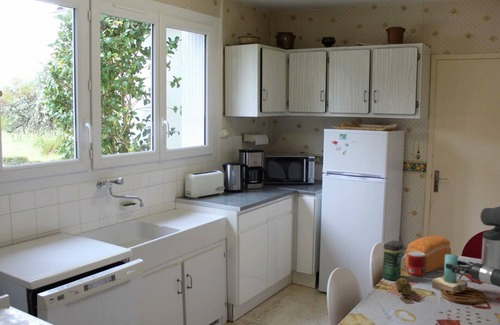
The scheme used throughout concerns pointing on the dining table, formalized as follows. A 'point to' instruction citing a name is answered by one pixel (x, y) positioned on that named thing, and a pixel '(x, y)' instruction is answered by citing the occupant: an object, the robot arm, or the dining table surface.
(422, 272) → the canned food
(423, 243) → the bread
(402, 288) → the potato
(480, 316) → the dining table surface
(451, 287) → the plinth
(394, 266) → the coffee jar
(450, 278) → the pillar
